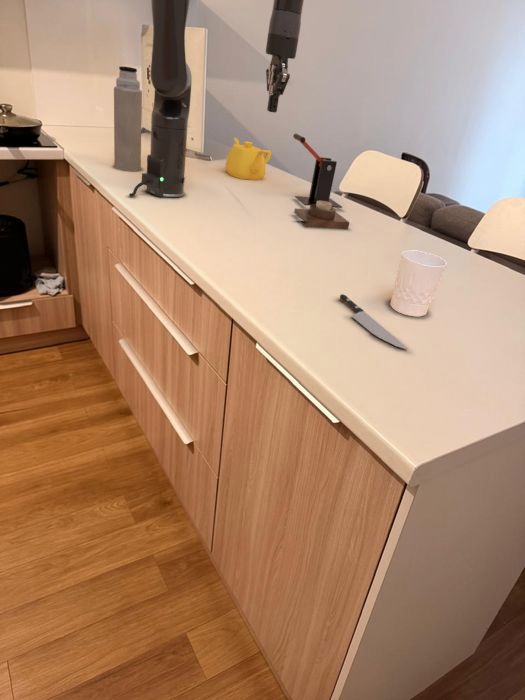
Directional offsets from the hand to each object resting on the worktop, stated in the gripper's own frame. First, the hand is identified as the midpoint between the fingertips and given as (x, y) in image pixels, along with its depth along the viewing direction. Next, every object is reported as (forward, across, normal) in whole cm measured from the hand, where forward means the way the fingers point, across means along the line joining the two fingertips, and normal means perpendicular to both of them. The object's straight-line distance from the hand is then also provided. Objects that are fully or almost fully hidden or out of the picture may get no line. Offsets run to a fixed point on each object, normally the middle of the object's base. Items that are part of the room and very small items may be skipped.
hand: (271, 111), depth 131 cm
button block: (+24, +14, +14) cm, 31 cm away
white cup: (+24, +65, +11) cm, 71 cm away
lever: (+10, -3, +15) cm, 18 cm away
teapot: (+24, -36, +6) cm, 44 cm away
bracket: (+24, -3, +20) cm, 31 cm away
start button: (+20, +14, +14) cm, 28 cm away
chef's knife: (+24, +71, 0) cm, 75 cm away
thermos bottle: (+25, -32, -34) cm, 53 cm away
